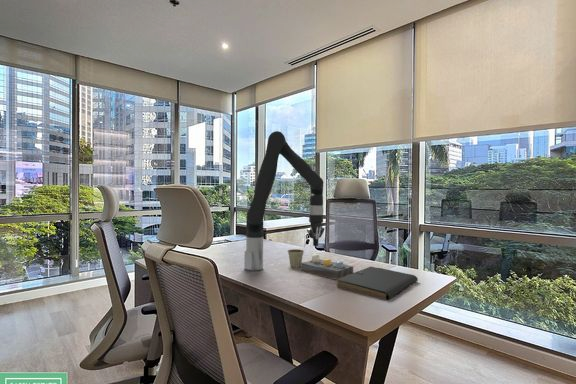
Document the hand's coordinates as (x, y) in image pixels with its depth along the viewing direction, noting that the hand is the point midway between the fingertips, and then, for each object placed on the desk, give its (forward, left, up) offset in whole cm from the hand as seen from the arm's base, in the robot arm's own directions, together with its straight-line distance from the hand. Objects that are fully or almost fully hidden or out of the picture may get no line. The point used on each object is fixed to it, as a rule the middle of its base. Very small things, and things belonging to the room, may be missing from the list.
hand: (315, 245), depth 162 cm
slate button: (0, -15, -11) cm, 19 cm away
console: (0, -7, -13) cm, 15 cm away
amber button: (0, -7, -11) cm, 13 cm away
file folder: (0, -36, -14) cm, 38 cm away
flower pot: (-2, +13, -13) cm, 18 cm away
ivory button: (0, 0, -10) cm, 10 cm away
